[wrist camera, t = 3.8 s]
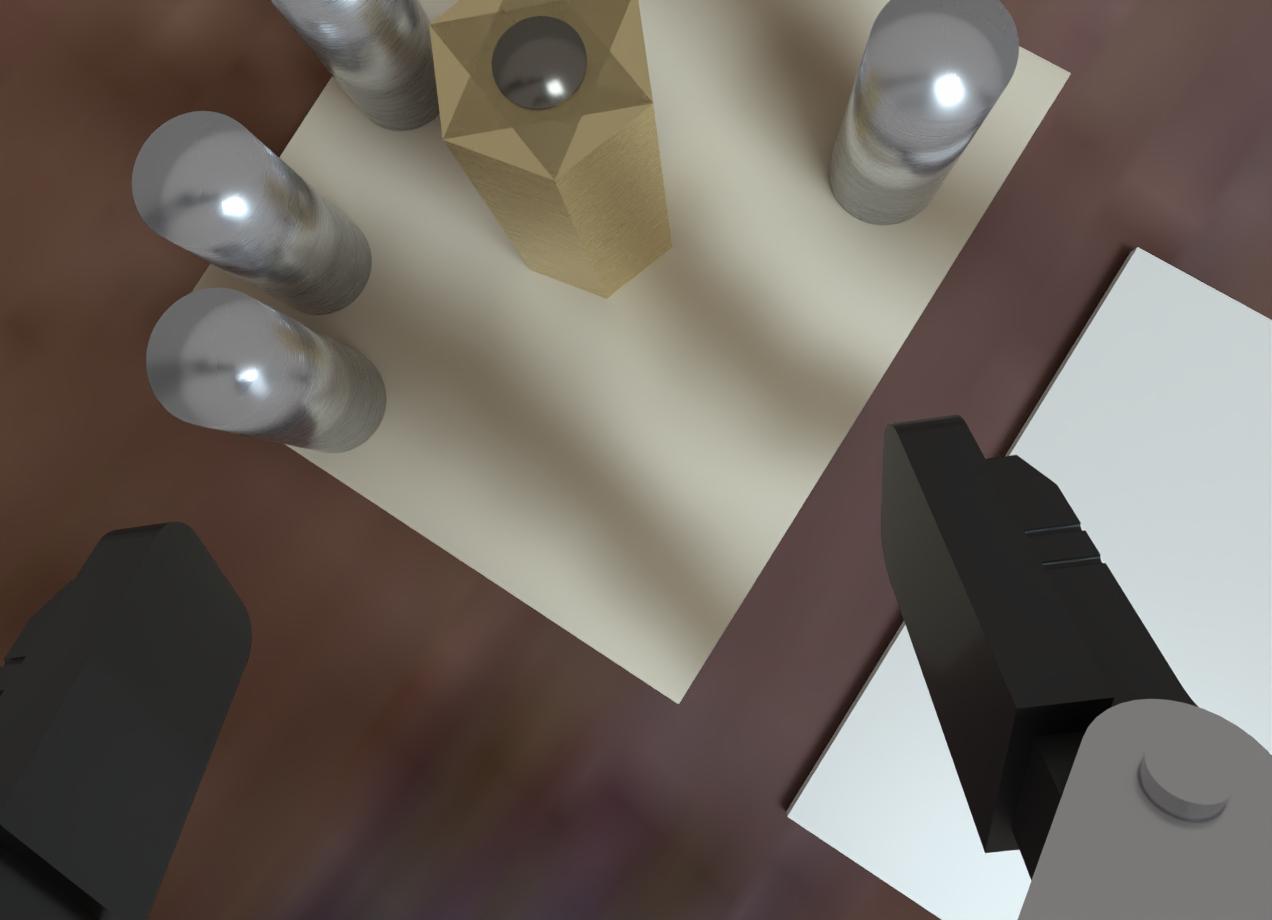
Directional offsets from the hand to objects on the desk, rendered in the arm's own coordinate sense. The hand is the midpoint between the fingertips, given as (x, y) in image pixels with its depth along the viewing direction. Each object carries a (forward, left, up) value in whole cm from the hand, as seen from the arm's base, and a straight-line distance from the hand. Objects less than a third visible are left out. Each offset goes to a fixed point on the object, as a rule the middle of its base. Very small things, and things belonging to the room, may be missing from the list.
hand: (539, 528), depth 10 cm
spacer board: (+7, +6, -14) cm, 17 cm away
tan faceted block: (+7, +6, -13) cm, 16 cm away
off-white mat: (+5, -12, -14) cm, 19 cm away
